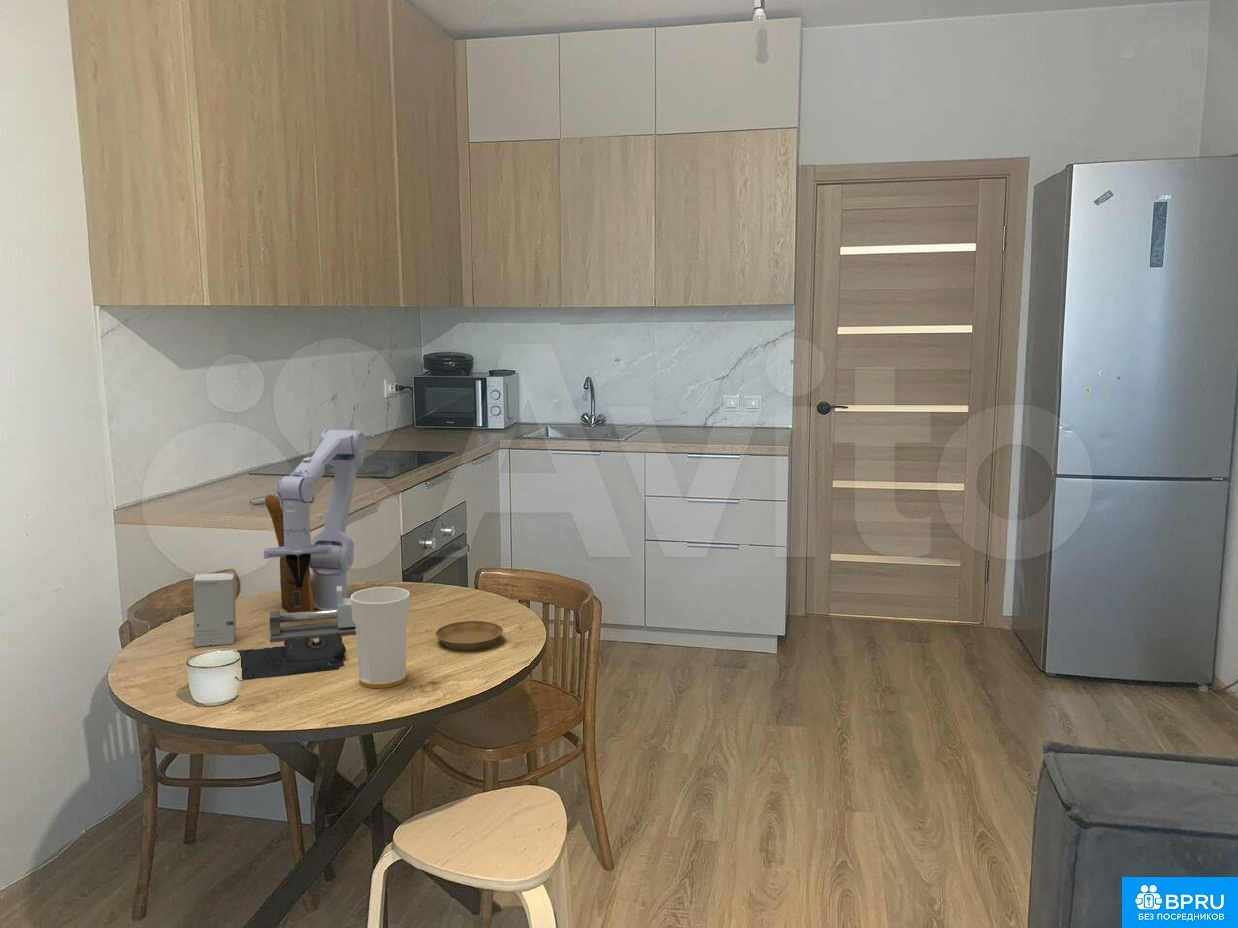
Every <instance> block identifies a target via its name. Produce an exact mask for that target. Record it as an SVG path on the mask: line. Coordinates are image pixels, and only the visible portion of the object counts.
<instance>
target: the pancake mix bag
mask: <svg viewBox="0 0 1238 928" xmlns="http://www.w3.org/2000/svg"><path fill="white" fill-rule="evenodd" d="M264 504H265V507H266V509H267V510H268V514H269V516H270V518H271V522H272V525H273V528H274V534H275V537H276V541H277V546H278V547H282V546H284V525H283V509H281V507H280V501H279V499H278V497H277V496H274V495H272V494H267V496H266V497H265V498H264ZM297 557H298V574H299V578H300V567H299V556H297ZM279 572H280V573H279V574H280V575H279V577H280V578H279V581H280V599H281V608H283V609H285V610H287V611H288V613H295V612H307V611H315V608H314V598H313V591H312V584H311V577H310V575H311V571H310V567H309V565H308V567H307V569H306V572H305V576H304V580H303V588H296V583H295V579H294V576H293V574H292V572H291V570H290V568H289V566H288V564H287V562H286V557H279Z"/></svg>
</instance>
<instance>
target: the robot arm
mask: <svg viewBox="0 0 1238 928" xmlns="http://www.w3.org/2000/svg"><path fill="white" fill-rule="evenodd" d="M366 449H367V440H366V436H365V433H364V432H363V431H362V430H361V429H356V430H353V429H351V430H349V429H330V428H326V429H324V430H323V431H322V432H321V434H320V436H319V446H318V447H317V448H316V450H315V451H314V453H313V455H312V456H310V457H309V456H307V457H304V458H303V459H302V461H301V462H300V463H299V464H298V465H297V466H296V467H295V469H294V470H293V471H292V472H291V473H290V475H284V476H283V477H282V478H280V479H279V480H278V483H277V486H276V487H277V488H276V491H275V492H276V497H278V499H279V501H280V507H281V509H283V525H284V546H282V547H279V546H275V547H269V548H264V549H263V559H264V560H267V559H272V558H274V559H275V558H280V557H286V562H287V564H288V566H289V568H290V570H291V572H292V574H293V576H294V579H295V583H296V588H303V580H304V576H305V572H306V569H307V567H308V565H309V569H311V570H312V572H310V577H311V584H312V591H313V598H314V609H316V610H317V611H319V610H331V609H337V597H336V586H342V597H343V599H345V598H348V582H347V579H348V578H347V571H350V569H351V568H352V565H353V563H354V558H355V555H354V549H355V548H354V547H355V543H354V541H353V539H352V538H351V537H350V536H348V535H347V534H346V530H347V524H348V520H349V519H348V518H349V514H350V509H351V504H352V498H353V494H354V489H355V483H356V479H357V474H358V473H357V472H358V468H360V467H362V466H363V463H364V459H365V455H366ZM327 464H329V466H332V467H333V468H334V469H335V474H334V479H333V484H332V488H331V493H330V498H329V502H328V503H329V504H328V507H327V513H326V518H325V522H324V526H323V527H324V529H322V531H320V532H319V533H317V534H316V535H314V536H313V537H312V535H311V517H310V515H311V513H310V501H311V500H312V499H313V497H314V492H315V490H316V488H317V484H318V482H320V480H321V479H322V477H323V476H324V475H325V472H326V470H325V469H326V468H325V466H327ZM311 539H312V540H311ZM297 556H299V567H300V578H299V574H298V557H297Z"/></svg>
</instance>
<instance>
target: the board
mask: <svg viewBox="0 0 1238 928" xmlns="http://www.w3.org/2000/svg"><path fill="white" fill-rule="evenodd" d="M280 627H281V630H280V636H270V638H269V640H270V643H279V642H284V641H285V640H286V639H288V638H295V639H301V638H303V637H308V638H310V639H311V640H312V639H319V636H323V635H326V636H327V635H334V634H336V633H338V634H341V637H344V636H354V635H356V627H344V628H338V623H337V621H330V622H329V621H328V622H318V623H306V624H295V625H285V626H284V625H283V626H281V625H280Z"/></svg>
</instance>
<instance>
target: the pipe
mask: <svg viewBox="0 0 1238 928" xmlns="http://www.w3.org/2000/svg"><path fill="white" fill-rule="evenodd" d="M337 618H338V614H337V609H331V610H314V611H307V612H295V613H291V612H285V613H284V612H283V613H281V611H280V610H271V611H270V612H269V631H270V637H271V636H280V630H281V624H284V623H292V622H293V623H294V622H305V621H317V620H329V619H331V620H332V619H337Z"/></svg>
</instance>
